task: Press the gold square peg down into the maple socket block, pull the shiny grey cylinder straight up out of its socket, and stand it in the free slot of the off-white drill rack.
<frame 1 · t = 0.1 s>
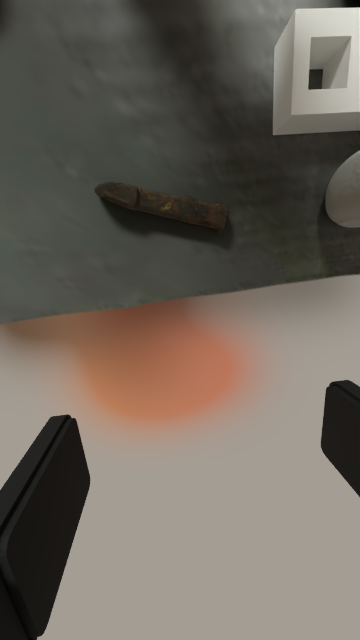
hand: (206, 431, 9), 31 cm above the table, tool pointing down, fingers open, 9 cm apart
drill rack: (328, 90, 33), on the table
hand tool: (162, 212, 36), on the table
glass bottle: (340, 197, 37), on the table
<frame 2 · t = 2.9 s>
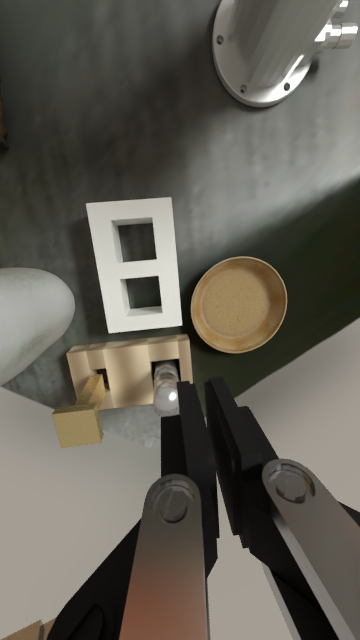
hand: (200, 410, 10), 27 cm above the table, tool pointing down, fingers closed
plant saucer: (234, 304, 37), on the table
socket block: (135, 368, 38), on the table
gold square peg: (89, 403, 30), point 9 cm above the table, slide at 0.0 cm
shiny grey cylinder: (165, 364, 39), resting in socket block
drill rack: (141, 267, 34), on the table
glass bottle: (50, 300, 35), on the table
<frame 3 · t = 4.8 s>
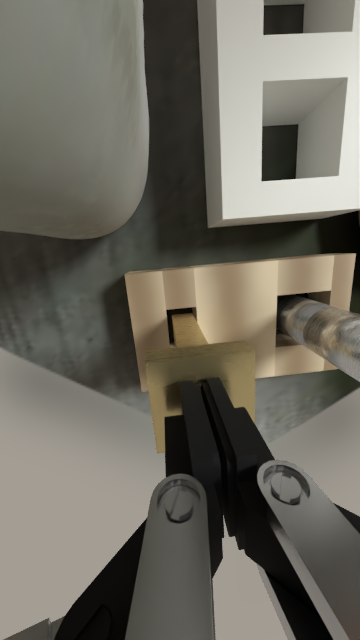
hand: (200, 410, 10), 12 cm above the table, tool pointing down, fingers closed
socket block: (232, 316, 22), on the table
gold square peg: (190, 357, 14), point 8 cm above the table, slide at 0.8 cm, touching gripper
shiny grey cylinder: (284, 311, 22), resting in socket block
drill rack: (267, 110, 18), on the table
glass bottle: (91, 176, 18), on the table
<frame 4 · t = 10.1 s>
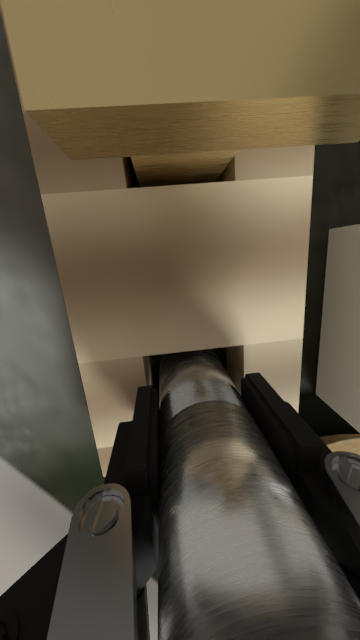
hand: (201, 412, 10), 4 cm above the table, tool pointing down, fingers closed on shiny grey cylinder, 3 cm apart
plant saucer: (315, 490, 18), on the table
socket block: (182, 281, 12), on the table
gold square peg: (184, 111, 6), point 5 cm above the table, slide at 3.6 cm
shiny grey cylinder: (189, 365, 14), resting in socket block, touching gripper
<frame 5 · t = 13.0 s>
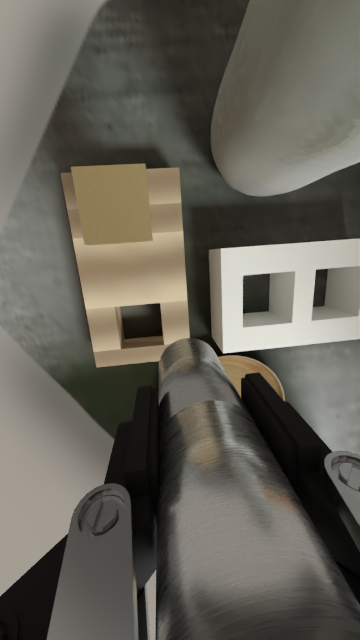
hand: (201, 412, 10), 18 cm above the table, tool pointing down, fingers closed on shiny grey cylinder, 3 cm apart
plant saucer: (220, 398, 31), on the table
socket block: (136, 274, 25), on the table
gold square peg: (123, 217, 19), point 5 cm above the table, slide at 3.6 cm
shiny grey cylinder: (188, 365, 14), point 13 cm above the table, touching gripper
drill rack: (277, 289, 27), on the table
glass bottle: (249, 154, 23), on the table
when the fingers open (6 cm above the table, at t = 16.1 s): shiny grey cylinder drops 2 cm, resting in drill rack.
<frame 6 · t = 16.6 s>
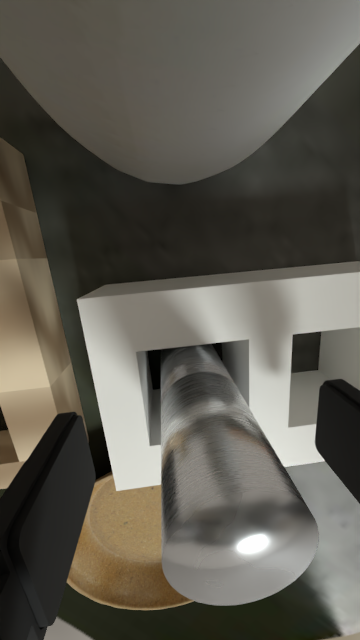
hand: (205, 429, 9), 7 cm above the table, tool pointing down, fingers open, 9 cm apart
plant saucer: (156, 507, 20), on the table
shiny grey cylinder: (186, 352, 16), resting in drill rack
drill rack: (236, 347, 16), on the table
glass bottle: (164, 105, 12), on the table
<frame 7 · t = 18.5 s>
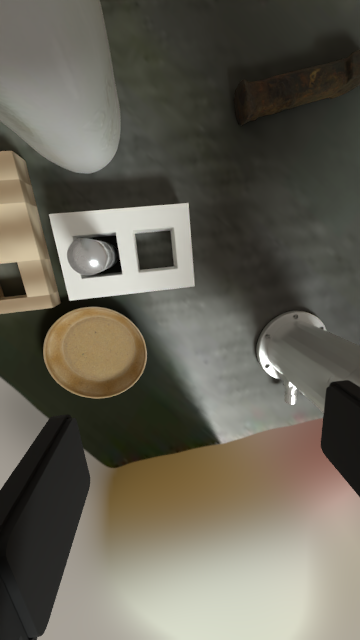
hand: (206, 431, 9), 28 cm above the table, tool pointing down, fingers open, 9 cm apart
plant saucer: (100, 348, 37), on the table
socket block: (5, 241, 31), on the table
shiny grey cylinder: (106, 255, 33), resting in drill rack
drill rack: (130, 252, 33), on the table
hand tool: (299, 92, 31), on the table
glass bottle: (84, 140, 29), on the table
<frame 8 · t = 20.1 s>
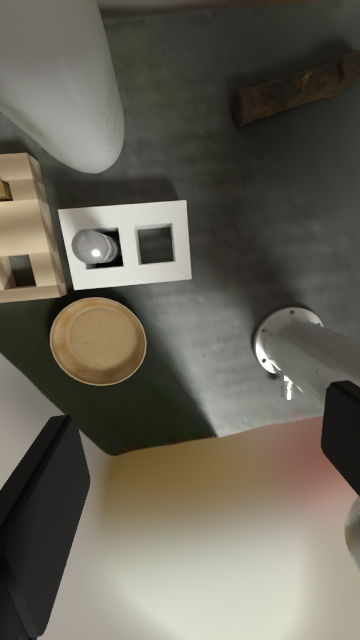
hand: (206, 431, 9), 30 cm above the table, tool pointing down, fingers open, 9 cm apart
plant saucer: (103, 338, 39), on the table
socket block: (18, 235, 34), on the table
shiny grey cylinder: (110, 249, 35), resting in drill rack
drill rack: (132, 247, 35), on the table
hand tool: (294, 94, 32), on the table
glass bottle: (92, 143, 32), on the table
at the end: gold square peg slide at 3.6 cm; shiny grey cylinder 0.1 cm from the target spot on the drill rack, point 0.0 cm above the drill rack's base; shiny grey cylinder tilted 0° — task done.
